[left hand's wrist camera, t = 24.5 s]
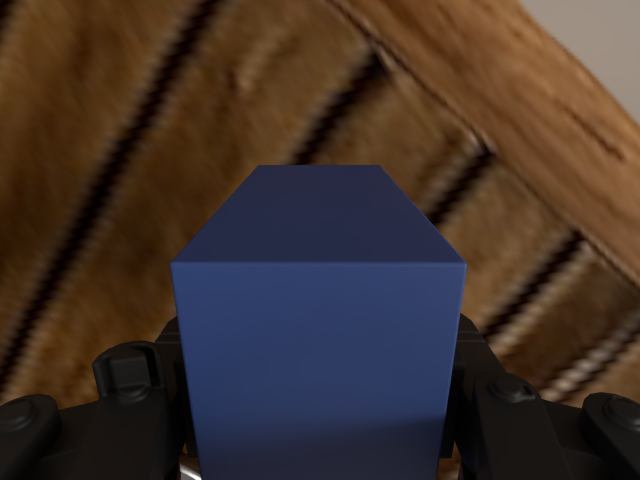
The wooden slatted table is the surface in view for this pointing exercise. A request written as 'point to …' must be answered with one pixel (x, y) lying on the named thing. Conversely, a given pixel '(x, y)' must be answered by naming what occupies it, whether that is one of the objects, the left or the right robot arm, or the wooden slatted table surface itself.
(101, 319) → the wooden slatted table surface
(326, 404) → the brick
